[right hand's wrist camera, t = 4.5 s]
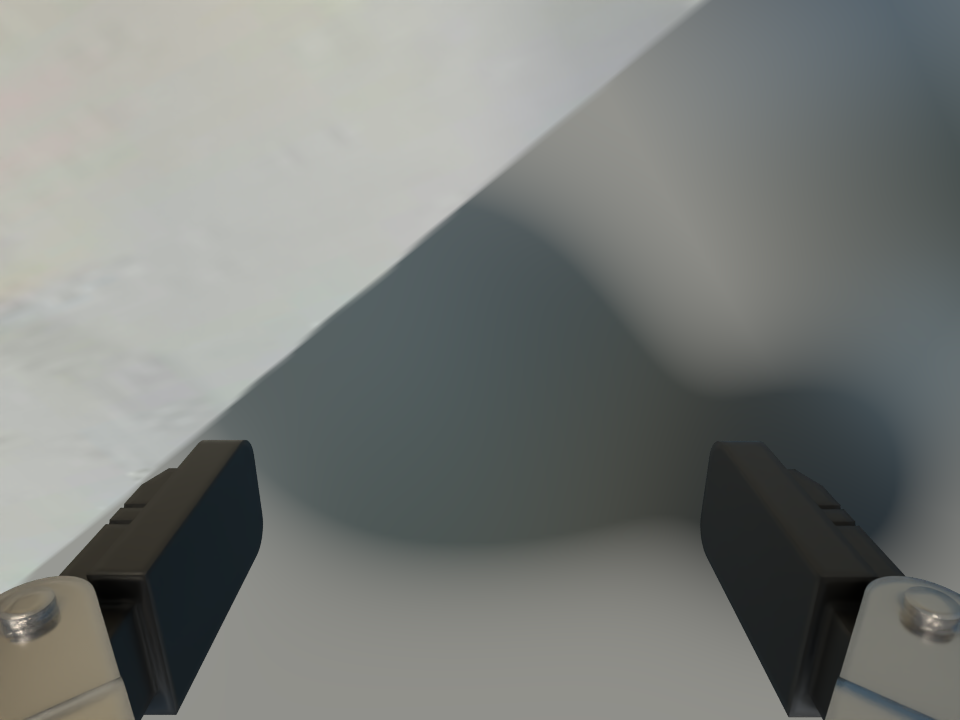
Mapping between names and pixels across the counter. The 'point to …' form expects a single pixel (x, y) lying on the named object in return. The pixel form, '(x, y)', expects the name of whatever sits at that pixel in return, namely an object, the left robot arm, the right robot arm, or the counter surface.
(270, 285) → the counter surface
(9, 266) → the counter surface
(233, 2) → the counter surface
